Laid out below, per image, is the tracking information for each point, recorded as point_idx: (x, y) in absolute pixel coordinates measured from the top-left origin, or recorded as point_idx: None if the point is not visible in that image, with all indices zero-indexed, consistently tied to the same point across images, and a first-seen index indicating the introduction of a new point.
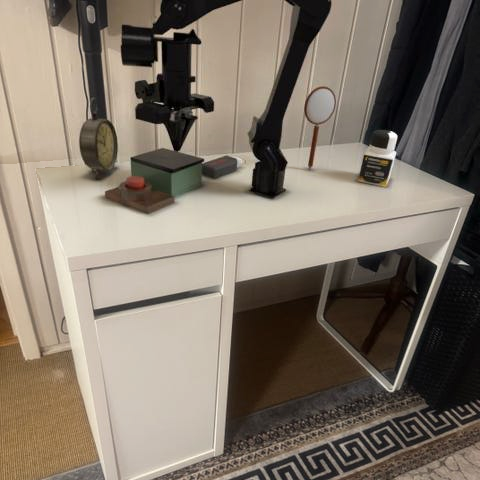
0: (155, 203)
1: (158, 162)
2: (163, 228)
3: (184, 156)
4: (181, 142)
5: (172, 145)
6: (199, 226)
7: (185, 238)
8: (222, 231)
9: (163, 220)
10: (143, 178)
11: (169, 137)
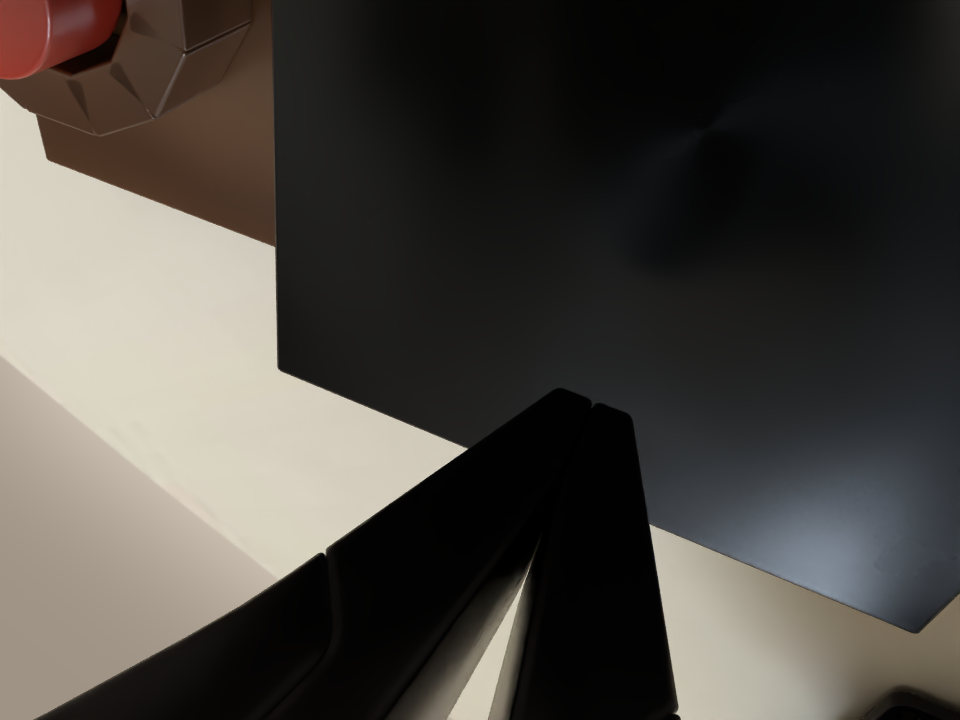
0: (125, 183)
1: (371, 89)
2: (55, 290)
3: (939, 382)
4: (510, 640)
5: (499, 433)
6: (206, 442)
7: (76, 405)
8: (243, 532)
9: (113, 259)
10: (37, 50)
11: (367, 519)
